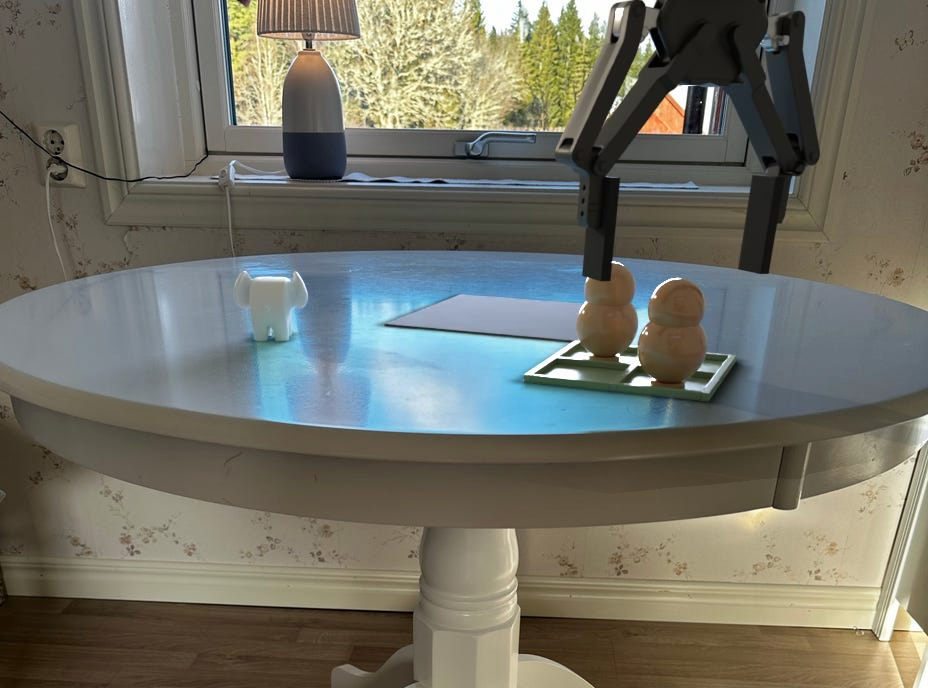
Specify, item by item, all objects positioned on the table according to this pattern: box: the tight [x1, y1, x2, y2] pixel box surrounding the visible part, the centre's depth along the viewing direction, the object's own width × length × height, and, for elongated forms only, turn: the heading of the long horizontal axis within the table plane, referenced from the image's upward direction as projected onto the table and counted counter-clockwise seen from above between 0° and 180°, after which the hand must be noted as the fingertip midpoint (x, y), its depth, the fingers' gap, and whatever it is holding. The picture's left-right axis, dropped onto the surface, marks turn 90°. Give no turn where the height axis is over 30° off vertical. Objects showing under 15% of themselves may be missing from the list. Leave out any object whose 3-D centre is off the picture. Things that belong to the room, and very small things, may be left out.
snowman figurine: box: [576, 261, 639, 361], centre depth 79 cm, size 5×5×8 cm
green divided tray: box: [522, 341, 738, 402], centre depth 77 cm, size 14×14×1 cm
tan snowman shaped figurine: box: [636, 277, 708, 388], centre depth 72 cm, size 5×5×8 cm
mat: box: [383, 293, 585, 343], centre depth 99 cm, size 20×20×1 cm
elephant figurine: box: [232, 270, 309, 342], centre depth 88 cm, size 7×8×6 cm
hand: (677, 275), depth 70 cm, fingers open, 13 cm apart
